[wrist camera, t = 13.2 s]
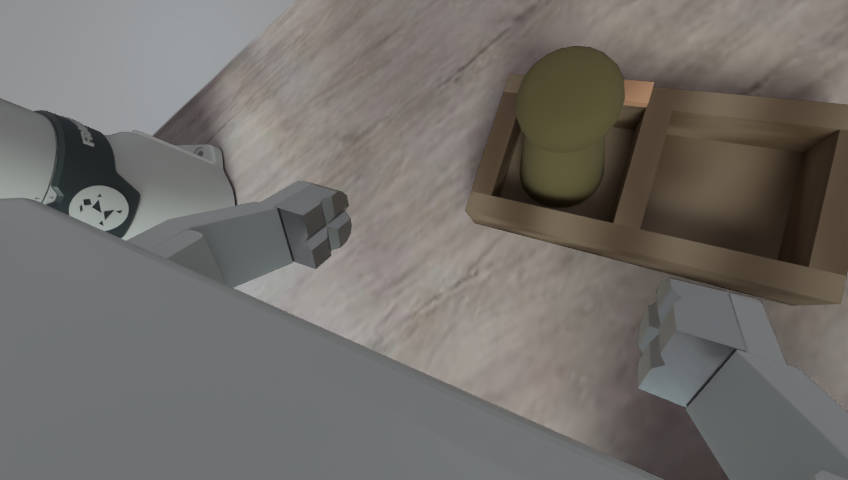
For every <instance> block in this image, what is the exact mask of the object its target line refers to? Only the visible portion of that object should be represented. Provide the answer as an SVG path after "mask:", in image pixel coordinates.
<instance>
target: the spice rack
mask: <svg viewBox="0 0 848 480" xmlns="http://www.w3.org/2000/svg"><path fill="white" fill-rule="evenodd" d="M524 76H525V75H518V74H509V77H508V80H507V83H506V86H505V89H504V92H503V95H502V98H501V101H500V105H499V108H498V111H497V114H496V117H495V120H494V123H493V126H492V129H491V132H490V135H489V138H488V141H487V144H486V147H485V151H484V154H483V157H482V160H481V163H480V166H479V169H478V172H477V175H476V178H475V181H474V184H473V187H472V190H471V194H470V197H469V200H468V203H467V206H466V209H465V211H466V212H467V214H468V215H469V216H470V218H471V219H472V220H473V221H474V223H477V224H480V225H484V226H488V227H492V228H496V229H500V230H503V231H507V232H511V233H515V234H519V235H523V236H526V237H530V238H534V239H538V240H542V241H546V242H550V243H553V244H557V245H561V246H565V247H569V248H573V249H576V250H580V251H584V252H588V253H592V254H596V255H599V256H603V257H607V258H611V259H615V260H619V261H623V262H626V263H630V264H634V265H638V266H642V267H646V268H649V269H653V270H657V271H661V272H665V273H669V274H672V275H676V276H680V277H684V278H688V279H692V280H696V281H699V282H703V283H707V284H711V285H715V286H719V287H722V288H726V289H730V290H734V291H738V292H742V293H745V294H749V295H753V296H757V297H761V298H765V299H769V300H772V301H776V302H780V303H784V304H788V305H822V304H840V303H841V299H842V294H843V290H844V285H845V280H846V276H847V271H848V105H845V104H835V103H824V102H813V101H802V100H791V99H780V98H769V97H758V96H747V95H736V94H725V93H715V92H704V91H693V90H682V89H671V88H660V87H653V85H654V82H648V81H636V80H625V79H624V88H625V100H624V103H623V106H622V109H621V112H620V115H619V117H618V120H617V121H616V123H615V124H614V125H613V127H612V128H611V129H610V130H609V132H608V133H607V134H606V135H605V161H604V175H603V178H602V181H601V184H600V186H599V187H598V188H597V190H596V191H595V192H594V193H593V195H592V196H590V197H589V198H587V199H586V200H584V201H583V202H582V203H579V204H576V205H573V206H570V207H560V208H553V207H549V206H546V205H542V204H540V203H538V202H537V201H535V200H534V199H532V198H531V197H530V196H529V195H528V194H527V192H526V191H525V190H524V189H523V186H522V183H521V180H520V163H521V157H522V151H523V145H524V139H525V134H524V133H523V132H522V130H521V128H520V125H519V123H518V120H517V116H516V96H517V93H518V90H519V87H520V84H521V82H522V79H523V78H524Z"/></svg>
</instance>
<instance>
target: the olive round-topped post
mask: <svg viewBox="0 0 848 480" xmlns="http://www.w3.org/2000/svg"><path fill="white" fill-rule="evenodd" d="M624 100H625V88H624V77H623V75H622V73H621V71H620V69H619V67H618V65H617V64H616V63H615V62H614V61H613V60H611V59H610V58H609V57H608V56H607V55H606V54H605V53H603V52H601V51H598V50H596V49H593V48H591V47H582V46H572V47H567V48H561V49H558V50H556V51H554V52H552V53H549V54H547V55H546V56H544V57H543V58H542V59H541V60H539V61H538V62H537V63H535V64H534V65H533V66H532V67H531V68H530V70H529V71H528V72H527V74H526V75H525V76H524V78H523V79H522V82H521V84H520V87H519V90H518V93H517V96H516V116H517V120H518V123H519V125H520V128H521V130H522V132H523V133H524V134H525V139H524V145H523V151H522V157H521V163H520V180H521V183H522V186H523V189H524V190H525V191H526V192H527V194H528V195H529V196H530V197H531V198H532V199H534V200H535V201H537V202H538V203H540V204H542V205H546V206H549V207H553V208H560V207H570V206H573V205H576V204H579V203H582V202H583V201H584V200H586V199H587V198H589V197H590V196H592V195H593V193H594V192H595V191H596V190H597V188H598V187H599V186H600V184H601V181H602V178H603V175H604V161H605V135H606V134H607V133H608V132H609V130H610V129H611V128H612V127H613V125H614V124H615V123H616V121H617V120H618V117H619V115H620V112H621V109H622V106H623V103H624Z"/></svg>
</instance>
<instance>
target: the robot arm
mask: <svg viewBox="0 0 848 480" xmlns="http://www.w3.org/2000/svg"><path fill="white" fill-rule="evenodd" d="M348 206H349V204H348V199H347V195H346V194H344V193H343V192H342V191H338V190H335V189H331V188H328V187H325V186H321V185H318V184H314V183H310V182H306V181H297V182H295V183H293V184H291V185H290V186H288V187H286V188H284V189H283V190H281V191H279V192H277V193H276V194H274V195H272V196H270V197H269V198H267V199H265V200H263V201H262V202H260V203H259V202H251V203H246V204H241V205H237V206H235V200H234V194H233V190H232V187H231V185H230V183H229V181H228V179H227V177H226V175H225V173H224V170H223V159H222V152H221V150H220V149H219V148H218V147H215V146H213V145H209V144H203V145H172V144H170V143H167V142H165V141H162V140H160V139H158V138H155V137H153V136H150V135H148V134H145V133H143V132H140V131H136V130H134V131H132V132H119V133H116V134H112V135H103V134H102V133H101V132H99V131H97V130H94V129H92V128H89V127H87V126H84V125H83V124H81V123H80V122H78V121H75V120H73V119H70V118H66V117H64V116H59V115H56V114H53V113H51V112H48V111H42V110H40V111H31V110H29V109H26V108H24V107H21V106H19V105H16V104H13V103H11V102H9V101H6V100H3V99H1V98H0V480H664V479H662V478H660V477H657V476H655V475H653V474H651V473H648V472H646V471H644V470H642V469H639V468H637V467H635V466H633V465H630V464H628V463H626V462H624V461H621V460H619V459H617V458H615V457H612V456H610V455H608V454H606V453H603V452H601V451H599V450H597V449H594V448H592V447H590V446H588V445H585V444H583V443H581V442H579V441H576V440H574V439H572V438H570V437H567V436H565V435H563V434H561V433H558V432H556V431H554V430H552V429H549V428H547V427H545V426H543V425H540V424H538V423H536V422H534V421H531V420H529V419H527V418H524V417H522V416H520V415H518V414H515V413H513V412H511V411H509V410H506V409H504V408H502V407H500V406H497V405H495V404H493V403H491V402H488V401H486V400H484V399H482V398H479V397H477V396H475V395H473V394H470V393H468V392H466V391H464V390H461V389H459V388H457V387H454V386H452V385H450V384H448V383H445V382H443V381H441V380H439V379H436V378H434V377H432V376H430V375H427V374H425V373H423V372H421V371H418V370H416V369H414V368H412V367H409V366H407V365H405V364H403V363H400V362H398V361H396V360H394V359H391V358H389V357H387V356H385V355H382V354H380V353H378V352H376V351H373V350H371V349H369V348H367V347H364V346H362V345H360V344H358V343H355V342H353V341H351V340H349V339H346V338H344V337H342V336H340V335H337V334H335V333H333V332H331V331H328V330H326V329H324V328H322V327H319V326H317V325H315V324H313V323H310V322H308V321H306V320H304V319H301V318H299V317H297V316H295V315H292V314H290V313H288V312H286V311H283V310H281V309H279V308H277V307H274V306H272V305H270V304H268V303H265V302H263V301H261V300H259V299H256V298H254V297H252V296H250V295H247V294H245V293H243V292H241V291H238V290H236V289H234V287H236V286H238V285H241V284H243V283H246V282H248V281H250V280H253V279H255V278H257V277H260V276H262V275H265V274H267V273H269V272H272V271H274V270H276V269H279V268H281V267H284V266H286V265H288V264H291V263H293V261H294V262H297V263H300V264H303V265H306V266H308V267H311V268H314V269H317V268H318V267H319V266H320V265H321V264H322V263H324V262H325V261H326V260H327V259H328V258H329V257H330V256H331V251H332V250H334V249H337V248H340V247H341V246H343V245H344V244H345V243H346V242H347V240H348V238H349V236H350V234H351V227H352V224H351V218H350V217H349V215H348V214H347V212H346V209H347V208H348ZM638 347H639V348H640V350H641V351H642V352H643V354H642V356H641V358H640V359H639V361H638V389H641V390H643V391H646V392H648V393H651V394H653V395H656V396H658V397H661V398H663V399H666V400H668V401H671V402H673V403H676V404H678V405H681V406H683V407H686V411H687V413H688V414H689V416H690V417H691V419H692V421H693V422H694V424H695V425H696V427H697V429H698V430H699V432H700V433H701V435H702V437H703V438H704V440H705V442H706V443H707V445H708V446H709V448H710V450H711V451H712V453H713V454H714V456H715V458H716V459H717V461H718V462H719V464H720V466H721V467H722V469H723V470H724V472H725V474H726V475H727V477H728V478H729V480H848V411H847V410H845V409H844V408H843V407H842V406H841V405H840V404H838V403H837V402H836V401H835V400H834V399H833V398H832V397H830V396H829V395H828V394H827V393H826V392H825V391H823V390H822V389H821V388H820V387H819V386H818V385H817V384H815V383H814V382H813V381H812V380H811V379H810V378H808V377H807V376H806V375H805V374H804V373H803V372H802V371H800V370H799V369H798V368H795V367H792V366H789V365H787V364H786V362H785V359H784V357H783V354H782V352H781V349H780V347H779V344H778V342H777V339H776V337H775V334H774V332H773V329H772V327H771V324H770V322H769V319H768V317H767V314H766V312H765V309H764V307H763V304H762V302H760V301H759V300H758V299H757V298H753V297H749V296H744V295H740V294H736V293H731V292H727V291H721V290H717V289H713V288H709V287H705V286H701V285H697V284H693V283H689V282H685V281H681V280H677V279H673V278H669V277H666V278H665V279H664V280H663V281H662V282H661V284H660V286H659V287H658V289H657V302H656V303H654V304H651V305H649V306H648V307H647V309H646V311H645V313H644V315H643V318H642V321H641V324H640V327H639V333H638Z"/></svg>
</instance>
